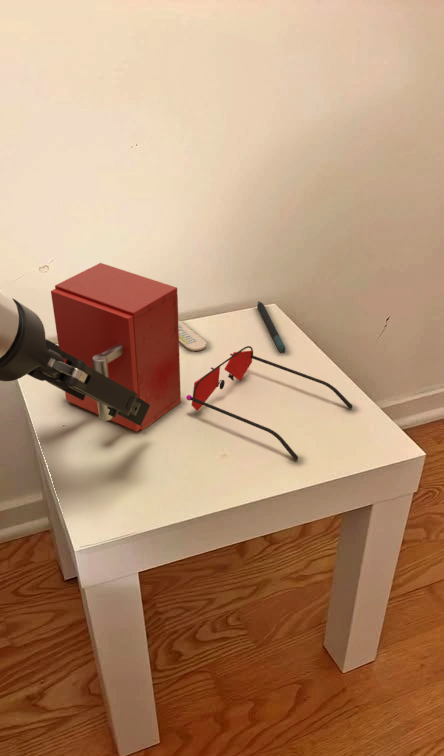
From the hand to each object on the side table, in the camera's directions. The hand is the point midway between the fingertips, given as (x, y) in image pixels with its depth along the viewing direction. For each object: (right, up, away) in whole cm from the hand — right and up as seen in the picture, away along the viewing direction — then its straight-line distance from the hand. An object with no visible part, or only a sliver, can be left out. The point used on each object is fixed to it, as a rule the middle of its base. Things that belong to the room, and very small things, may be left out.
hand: (113, 401), depth 93 cm
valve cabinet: (0, +1, +8) cm, 9 cm away
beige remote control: (+7, +12, +22) cm, 26 cm away
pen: (+16, +16, +30) cm, 37 cm away
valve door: (-3, -2, +4) cm, 6 cm away
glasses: (+19, -1, +7) cm, 20 cm away
